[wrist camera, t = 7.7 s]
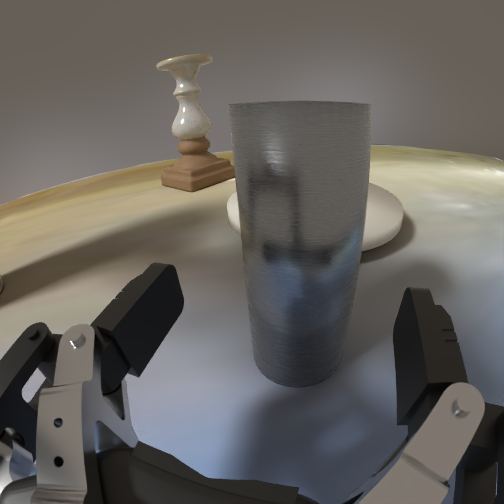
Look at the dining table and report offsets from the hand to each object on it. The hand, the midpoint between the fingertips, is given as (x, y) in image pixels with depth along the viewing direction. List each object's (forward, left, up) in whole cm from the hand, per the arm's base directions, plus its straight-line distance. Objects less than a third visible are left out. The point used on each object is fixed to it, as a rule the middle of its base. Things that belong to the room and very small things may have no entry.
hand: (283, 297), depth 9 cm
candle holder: (-8, +46, -8) cm, 47 cm away
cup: (+2, +4, -8) cm, 9 cm away
